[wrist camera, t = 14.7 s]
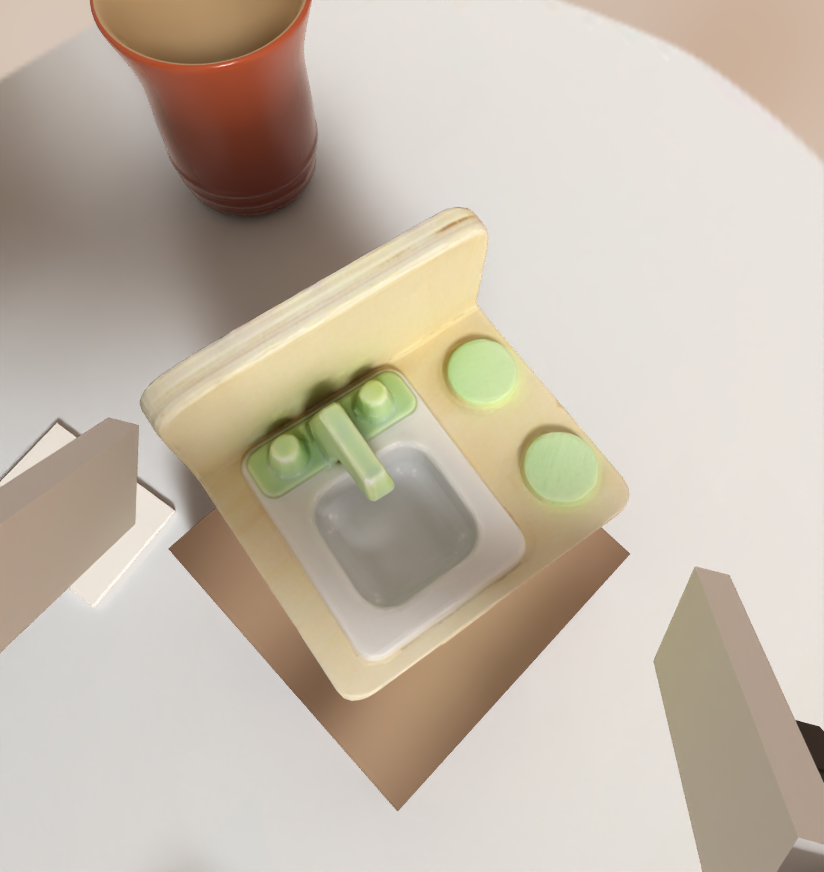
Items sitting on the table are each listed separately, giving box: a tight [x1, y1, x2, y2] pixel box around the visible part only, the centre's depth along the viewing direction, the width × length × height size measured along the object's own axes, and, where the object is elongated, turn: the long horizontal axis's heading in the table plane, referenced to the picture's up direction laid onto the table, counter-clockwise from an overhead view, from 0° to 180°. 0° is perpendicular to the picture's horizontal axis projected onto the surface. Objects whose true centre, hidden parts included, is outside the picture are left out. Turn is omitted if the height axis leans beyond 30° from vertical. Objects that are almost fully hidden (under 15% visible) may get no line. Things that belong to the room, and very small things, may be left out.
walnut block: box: [169, 507, 630, 811], centre depth 28 cm, size 12×12×5 cm
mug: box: [90, 0, 318, 215], centre depth 33 cm, size 12×9×10 cm
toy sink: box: [140, 207, 629, 701], centre depth 19 cm, size 9×7×13 cm
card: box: [0, 423, 176, 607], centre depth 30 cm, size 7×5×1 cm
